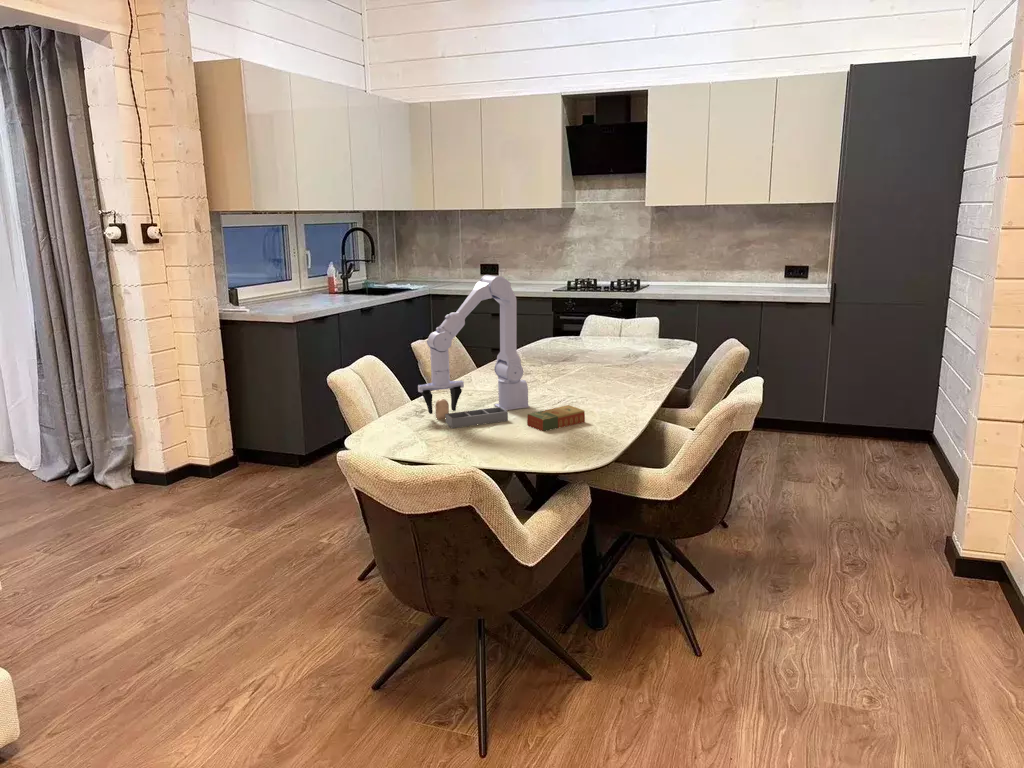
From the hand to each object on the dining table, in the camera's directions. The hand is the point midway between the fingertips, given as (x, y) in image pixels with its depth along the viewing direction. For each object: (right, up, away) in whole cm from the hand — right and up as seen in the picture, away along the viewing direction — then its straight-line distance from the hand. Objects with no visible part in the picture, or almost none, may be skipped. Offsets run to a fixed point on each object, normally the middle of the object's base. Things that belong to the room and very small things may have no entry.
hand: (442, 411), depth 237 cm
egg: (0, -2, 0) cm, 2 cm away
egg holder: (+11, -3, -6) cm, 13 cm away
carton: (+36, -4, -9) cm, 37 cm away
